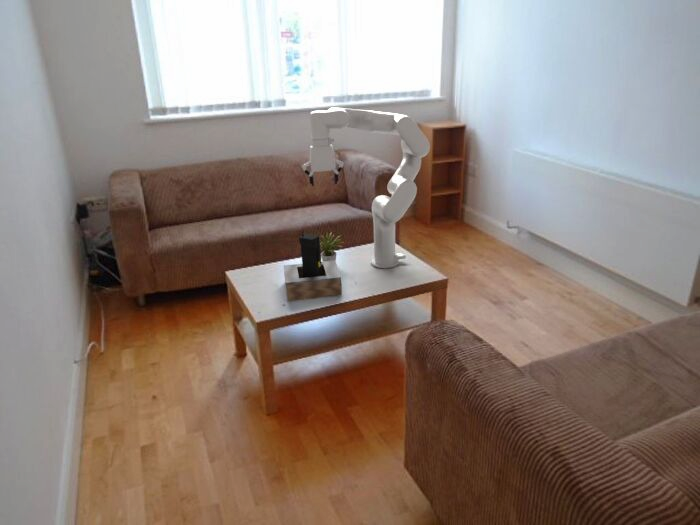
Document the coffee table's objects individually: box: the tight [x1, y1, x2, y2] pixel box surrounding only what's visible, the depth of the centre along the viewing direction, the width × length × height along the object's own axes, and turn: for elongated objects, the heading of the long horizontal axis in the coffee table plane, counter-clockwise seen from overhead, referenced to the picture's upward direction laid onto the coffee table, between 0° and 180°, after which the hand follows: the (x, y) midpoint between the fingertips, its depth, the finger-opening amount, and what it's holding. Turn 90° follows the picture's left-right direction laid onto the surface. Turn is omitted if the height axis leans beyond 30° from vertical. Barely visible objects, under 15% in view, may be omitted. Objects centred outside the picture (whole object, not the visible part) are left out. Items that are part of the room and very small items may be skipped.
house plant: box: [320, 231, 346, 263], centre depth 233 cm, size 14×14×16 cm
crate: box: [283, 260, 343, 302], centre depth 214 cm, size 22×18×8 cm
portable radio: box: [298, 229, 322, 278], centre depth 211 cm, size 8×6×25 cm
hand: (324, 184), depth 215 cm, fingers open, 9 cm apart
